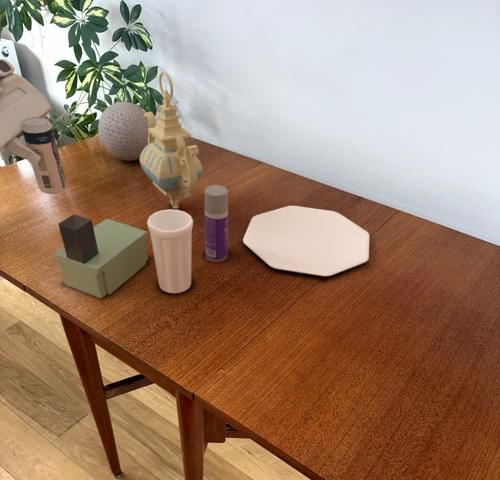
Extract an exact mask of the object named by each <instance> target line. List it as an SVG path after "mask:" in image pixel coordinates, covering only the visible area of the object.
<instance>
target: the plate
mask: <svg viewBox="0 0 500 480" xmlns="http://www.w3.org/2000/svg"><path fill="white" fill-rule="evenodd" d="M370 237H371V236H370V233H369V231H367V230H365V229H364V228H363V227H361V226H359V225H358V224H356V223H355V222H353V221H351V220H350V219H349V218H347V217H346V216H344V215H343V214H341V213H339V212H337V211H334V210H327V209H319V208H312V207H307V206H306V207H305V206H299V205H288V206H284V207H279V208H276V209H274V210H269V211H266V212H263V213H260V214H255V215H254V216H252V217H251V219H250V222H249V223H248V226H247V229H246V231H245V234H244V236H243V238H242V242H243V244H244V246H246V247H247V248H248V249H249V250H250V251H251V252H253V253H254V254H255V255H256V256H257V257H258V258H259V259H260V260H262V262H264V263H265V264H266V265H267V266H268V267H270V268H271V269H274V270H279V271H284V272H285V271H286V272H291V273H295V274H297V273H298V274H302V275H303V274H304V275H309V276H317V277H322V278H326V277H332V276H334V275H338V274H340V273H342V272H345V271H348V270H350V269H353V268H356V267H358V266H361V265H363V264H366V263H367V262H368V261H369V259H370Z"/></svg>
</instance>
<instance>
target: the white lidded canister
mask: <svg viewBox="0 0 500 480" xmlns="http://www.w3.org/2000/svg"><path fill="white" fill-rule="evenodd" d="M22 128H23V138H24V141H25V144H26V145H25V146H26V147H28V148H30V149H32V150H33V149H34V148H35V149H36V150H37V151H38V152H39V153H41V154H42V156H43V158H42V159H41V161H40V162H39V163H38V164H37V165H33V164H31V165H32V170H33V172H34V176H35V179H36V184H37V186H38V189H39V191H40V192H42V193H45V194H47V195H55V194H56V195H57V194H60V193H62V192H63V191H64V190H66V189H67V188H68V185H67V180H66V175H65V172H64V168H63V164H62V161H61V156H60V152H59V148H58V144H57V143H56V135H55V131H54V128H53V124H52V123H51V122H50V120H49V119H48V118H46V117H45V118H44V117H33V118H28V119H26V120H24V121H23V126H22Z"/></svg>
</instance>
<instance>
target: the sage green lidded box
mask: <svg viewBox="0 0 500 480" xmlns="http://www.w3.org/2000/svg"><path fill="white" fill-rule="evenodd" d="M93 228H94V233H95V238H96V243H97V247H98V252H99V254H97V255H96V256H95V257H93V258H92V259H90V260H89V261H88V262H86V263H85V264H83V263H80V262H77V261H75V260H72V259H69V258H67V255H66V251H65V248H64V246H63V247H61V248H60V249H58V250H57V251H55V252H54V253H53V254H54V258H55V260H57V261H58V264H59V267H60V268H59V269H60V271H61V272H60V273H61V276H62V278H63V282H64V285H65V286H68V287H70V288H73V289H76V290H78V291H81V292H83V293H86V294H88V295H91V296H94V297H96V298H99V299H103V298H104V297H105V296H106V295H108V296H110V295H111V294H112V293H114V292H115V291H116V290H117V289H118V288H120V286H122V285H123V284H125V283H126V282H127V281H128V280H129V279H131V277H133V276H134V275H135V274H136V273H137V272H138V271H140V270H141V269H142V268H143V267H144V266H145V265H147V261H148V260H149V257H148V256H149V255H148V249H147V241H146V239H147V238H148V236H149V235H148V231H147V230H145V229H140V228H138V227H134V226H133V225H132V226H131V225H128V224H126V223H122V222H119V221H116V220H113V219H109V218H105V219H103V220H102V221H101V222H99V223H98V224H96V225H95V226H93Z"/></svg>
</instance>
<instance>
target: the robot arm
mask: <svg viewBox="0 0 500 480" xmlns="http://www.w3.org/2000/svg"><path fill="white" fill-rule="evenodd" d="M15 70H16V69H15V66H14V65H13V64H12V63H10V61H8V60H7V59H4V58H0V154H2V153H3V152H5V151H6V150H7V151H9V152H10V153H11V154H13V155H14V156H16V157H19V158H21V159H22V158H23V159H25V160H27V161H28V162H29V163H30V164H31V165H32V164H33V165H37V164H38V163H39V162H40V161H41V159H42V158H43V156H42V154H41V153H39V152H38V151H37V150H36V149H35V148H34V149H33V150H32V149H30V148H28V147H27V145H24V144H22V143H23V141H22V140H21V138H22V137H24V135H23V128H22V126H23V121H24V120H26V119H28V118H33V117H44V118H46V117H47V115H48V114H49V112H50V111H51V109H52V107H51V105H50V103H49V101H48V100H47V98H46V97H45V96H44V95H43V94H42V93H41V92H40V91H39V90H38V89H37V88H36V87H35V86H34V85H32V84H31V82H29V80H27V79H26V78H24V77H23V76H22V75H21V74H18V73H14V72H15ZM56 143H57V145H58V144H59V143H58V140H56Z"/></svg>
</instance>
